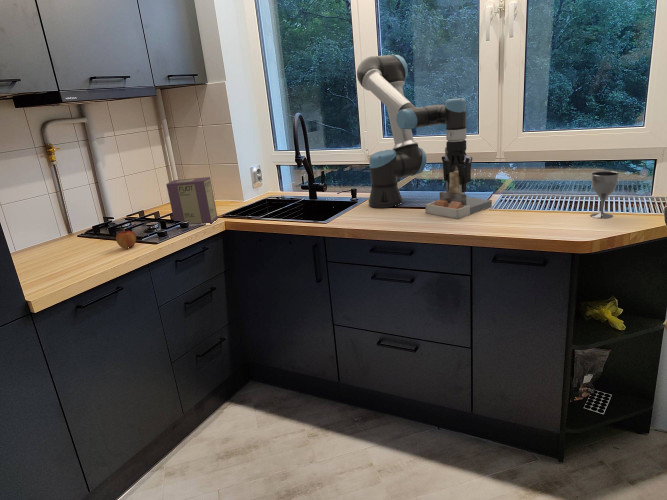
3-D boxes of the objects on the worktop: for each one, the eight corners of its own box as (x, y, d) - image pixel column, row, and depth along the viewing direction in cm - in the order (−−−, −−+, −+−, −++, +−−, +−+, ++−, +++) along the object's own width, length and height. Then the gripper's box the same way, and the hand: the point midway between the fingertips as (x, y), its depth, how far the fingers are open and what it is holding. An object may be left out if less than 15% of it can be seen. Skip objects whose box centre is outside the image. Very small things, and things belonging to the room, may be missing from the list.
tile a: (439, 210, 193) (435, 211, 191) (439, 199, 191) (434, 200, 190) (448, 211, 189) (443, 213, 188) (447, 200, 188) (443, 202, 186)
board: (437, 209, 196) (437, 203, 195) (459, 201, 204) (459, 195, 203) (469, 214, 184) (469, 208, 183) (491, 206, 191) (491, 200, 190)
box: (218, 219, 218) (210, 176, 211) (211, 225, 209) (203, 180, 203) (183, 222, 219) (174, 180, 213) (175, 228, 211) (166, 184, 204)
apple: (128, 251, 183) (123, 231, 181) (114, 250, 186) (109, 231, 184) (142, 245, 190) (137, 226, 187) (128, 244, 192) (123, 226, 190)
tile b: (448, 213, 187) (445, 209, 185) (454, 205, 188) (451, 200, 187) (457, 215, 183) (454, 210, 182) (463, 206, 184) (460, 202, 183)
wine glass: (611, 212, 168) (615, 170, 163) (617, 218, 161) (621, 175, 156) (586, 213, 170) (589, 171, 166) (591, 219, 163) (594, 176, 158)
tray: (425, 213, 192) (425, 204, 191) (437, 209, 196) (437, 200, 195) (457, 219, 180) (457, 209, 178) (469, 214, 184) (469, 205, 182)
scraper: (439, 201, 193) (439, 172, 189) (448, 198, 196) (448, 170, 192) (463, 205, 184) (463, 174, 180) (472, 202, 187) (472, 172, 183)
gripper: (432, 141, 187) (434, 198, 195) (468, 142, 174) (468, 204, 181) (445, 138, 191) (446, 194, 199) (480, 139, 178) (480, 199, 185)
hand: (457, 199), depth 190 cm, fingers closed on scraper, 4 cm apart
